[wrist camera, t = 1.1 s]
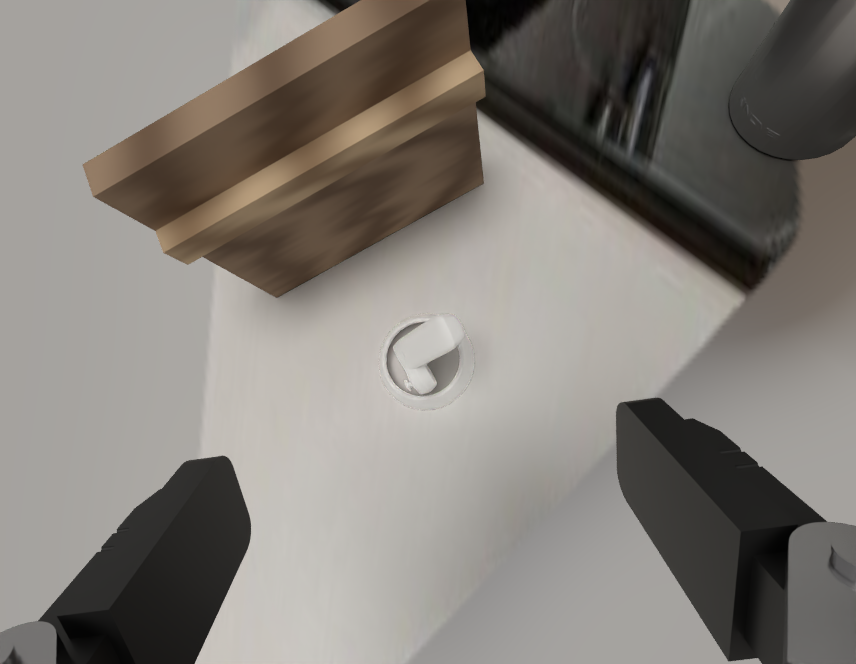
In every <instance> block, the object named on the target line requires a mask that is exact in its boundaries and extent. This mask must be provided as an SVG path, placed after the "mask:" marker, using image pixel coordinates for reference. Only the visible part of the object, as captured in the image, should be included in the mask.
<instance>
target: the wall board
mask: <svg viewBox="0 0 856 664" xmlns="http://www.w3.org/2000/svg"><path fill="white" fill-rule="evenodd" d="M484 97H485V83H484V70H483V69H482V67H481V66H480V64H479V63H478V61H477V60H476V58H475V57H474V55H473V53H472V52H471V50H470V42H469V32H468V22H467V12H466V2H465V0H361V1H359V2H357V3H356V4H354V5H352V6H350V7H349V8H347V9H345V10H344V11H342V12H340V13H339V14H337V15H335V16H334V17H332V18H330V19H328V20H327V21H325V22H323V23H322V24H320V25H318V26H317V27H315V28H313V29H312V30H310V31H308V32H306V33H305V34H303V35H301V36H300V37H298V38H296V39H295V40H293V41H291V42H289V43H288V44H286V45H284V46H283V47H281V48H279V49H278V50H276V51H274V52H273V53H271V54H269V55H267V56H266V57H264V58H262V59H261V60H259V61H257V62H256V63H254V64H252V65H250V66H249V67H247V68H245V69H244V70H242V71H240V72H239V73H237V74H235V75H234V76H232V77H230V78H228V79H227V80H225V81H223V82H222V83H220V84H218V85H217V86H215V87H213V88H212V89H210V90H208V91H206V92H205V93H203V94H201V95H200V96H198V97H196V98H195V99H193V100H191V101H189V102H188V103H186V104H185V105H183V106H181V107H179V108H178V109H176V110H174V111H173V112H171V113H169V114H167V115H166V116H164V117H162V118H161V119H159V120H157V121H156V122H154V123H152V124H150V125H149V126H147V127H146V128H144V129H142V130H140V131H139V132H137V133H135V134H134V135H132V136H130V137H128V138H127V139H125V140H124V141H122V142H120V143H118V144H117V145H115V146H113V147H111V148H110V149H108V150H106V151H105V152H103V153H101V154H100V155H98V156H97V157H95V158H93V159H91V160H89V161H88V162H86V163H84V164H83V167H84V170H85V173H86V176H87V179H88V182H89V185H90V188H91V191H92V194H93V197H95V198H97V199H99V200H100V201H102V202H104V203H106V204H108V205H109V206H111V207H113V208H115V209H117V210H119V211H120V212H122V213H124V214H126V215H127V216H129V217H131V218H133V219H135V220H137V221H138V222H140V223H142V224H144V225H146V226H147V227H149V228H151V229H153V230H155V231H156V234H157V237H158V239H159V242H160V245H161V247H162V250H163V253H165V254H167V255H169V256H171V257H173V258H175V259H177V260H179V261H181V262H183V263H185V264H187V265H188V264H190V263H192V262H194V261H195V260H197V259H199V258H201V257H204V258H206V259H208V260H209V261H211V262H213V263H215V264H216V265H218V266H220V267H222V268H224V269H226V270H227V271H229V272H231V273H233V274H235V275H236V276H238V277H240V278H242V279H244V280H245V281H247V282H249V283H251V284H253V285H255V286H256V287H258V288H260V289H262V290H264V291H265V292H267V293H269V294H271V295H273V296H275V297H276V298H277V297H279V296H281V295H283V294H284V293H286V292H288V291H290V290H292V289H293V288H295V287H297V286H299V285H301V284H302V283H304V282H306V281H308V280H310V279H311V278H313V277H315V276H317V275H319V274H320V273H322V272H324V271H326V270H328V269H329V268H331V267H333V266H335V265H337V264H339V263H340V262H342V261H344V260H346V259H348V258H349V257H351V256H353V255H355V254H357V253H358V252H360V251H362V250H364V249H366V248H367V247H369V246H371V245H373V244H375V243H376V242H378V241H380V240H382V239H384V238H385V237H387V236H389V235H391V234H393V233H395V232H396V231H398V230H400V229H402V228H404V227H405V226H407V225H409V224H411V223H413V222H414V221H416V220H418V219H420V218H422V217H423V216H425V215H427V214H429V213H431V212H432V211H434V210H436V209H438V208H440V207H441V206H443V205H445V204H447V203H449V202H450V201H452V200H454V199H456V198H458V197H460V196H461V195H463V194H465V193H467V192H469V191H470V190H472V189H474V188H476V187H478V186H479V185H481V184H483V183H484V181H483V171H482V161H481V151H480V141H479V131H478V121H477V111H476V101H478V100H480V99H482V98H484Z"/></svg>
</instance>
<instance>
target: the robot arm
mask: <svg viewBox="0 0 856 664" xmlns="http://www.w3.org/2000/svg"><path fill="white" fill-rule="evenodd" d="M729 109H730V116H731V119H732V122H733V125H734V126H735V128H736V129H737V131H738V132H739V134H740V135H741V136H742V137H743V138H744V139H745V140H746V141H747V142H748V143H749V144H750V145H752V146H753V147H755V148H756V149H758V150H760V151H762V152H764V153H767V154H769V155H771V156H775V157H779V158H784V159H794V160H804V159H812V158H818V157H821V156H824V155H827V154H830V153H832V152H834V151H836V150H838V149H840V148H842V147H843V146H844V145H845V144H847V143H848V142H849V141H850V140H852V139H853V138H854V137H855V136H856V0H790V2H789V3H788V5H787V6H786V8H785V9H784V11H783V12H782V14H781V15H780V17H779V18H778V20H777V21H776V23H775V24H774V26H773V27H772V29H771V30H770V32H769V33H768V35H767V36H766V38H765V39H764V40H763V42H762V43H761V45H760V46H759V48H758V49H757V51H756V52H755V54H754V55H753V57H752V58H751V60H750V61H749V63H748V64H747V66H746V67H745V69H744V70H743V72H742V73H741V75H740V76H739V78H738V79H737V81H736V83H735V85H734V87H733V89H732V91H731V95H730V101H729ZM616 438H617V474H618V479H619V483H620V487H621V490H622V492H623V495H624V497H625V499H626V501H627V503H628V504H629V506H630V507H631V509H632V510H633V512H634V514H635V515H636V517H637V518H638V520H639V521H640V523H641V524H642V526H643V528H644V529H645V531H646V532H647V534H648V535H649V537H650V539H651V540H652V542H653V543H654V545H655V546H656V548H657V549H658V551H659V553H660V554H661V556H662V557H663V559H664V561H665V562H666V564H667V565H668V567H669V568H670V570H671V572H672V573H673V575H674V576H675V578H676V579H677V581H678V583H679V584H680V586H681V587H682V589H683V590H684V592H685V593H686V595H687V597H688V598H689V600H690V601H691V603H692V605H693V606H694V608H695V609H696V611H697V612H698V614H699V616H700V617H701V619H702V620H703V622H704V623H705V625H706V626H707V628H708V630H709V631H710V633H711V634H712V636H713V638H714V639H715V641H716V642H717V644H718V645H719V647H720V649H721V650H722V652H723V653H724V655H725V656H726V658H727V659H728V661H736V660H744V659H752V658H759V660H760V661H761V663H762V664H856V526H853V525H848V524H843V523H835V522H827V521H826V520H824V519H823V518H822V517H821V516H819V514H817V513H816V512H815V511H814V510H813V509H812V508H810V507H809V506H808V505H807V504H806V503H804V502H803V501H802V500H801V499H800V498H799V497H797V496H796V495H795V494H794V493H793V492H792V491H790V490H789V489H788V488H787V487H786V486H784V485H783V484H782V483H781V482H780V481H778V480H777V479H776V478H775V477H774V476H773V475H772V474H770V473H769V472H768V471H767V470H765V469H764V468H763V467H759V466H758V463H757V462H756V461H755V460H754V459H752V458H751V457H750V456H749V455H748V454H747V453H745V452H741V450H740V447H738V446H737V445H736V444H735V443H734V442H732V441H731V440H730V439H729V438H728V437H727V436H725V435H724V434H723V433H722V432H721V431H719V430H717V429H715V428H712V427H710V426H708V425H706V424H704V423H701V422H699V421H697V420H695V419H686V420H684V419H683V418H682V417H681V416H680V415H679V414H678V413H676V412H675V411H674V410H673V409H672V408H671V407H670V406H669V405H668V404H666V403H665V401H663V400H662V399H661V398H651V399H643V400H636V401H629V402H621V403H619V404H618V406H617V411H616ZM250 536H251V522H250V517H249V513H248V510H247V507H246V504H245V501H244V498H243V495H242V492H241V489H240V486H239V483H238V480H237V477H236V474H235V471H234V468H233V465H232V463H231V461H230V460H229V458H227V457H226V456H218V457H211V458H204V459H196V460H189V461H186V462H184V463H183V464H182V465H181V466H180V468H179V469H178V470H177V471H176V472H175V474H174V475H173V476H172V477H171V478H170V480H169V481H168V482H167V483H166V485H165V486H164V487H163V488H162V489H160V490H158V491H157V492H156V493H154V494H153V495H152V496H151V497H149V498H148V499H147V500H145V501H144V502H143V503H142V504H140V505H139V506H137V507H136V508H135V509H134V510H133V511H132V512H131V513H130V515H129V516H128V517H127V518H126V519H125V520H124V522H123V523H122V524H121V525H120V526H119V527H118V529H117V533H114V534H112V536H111V537H110V538H109V539H108V540H107V541H106V543H105V544H104V545H103V546H102V550H101V552H97V553H96V554H95V556H94V557H93V558H92V559H91V560H90V561H89V562H88V564H87V565H86V566H85V567H84V568H83V569H82V570H81V572H80V573H79V574H78V575H77V576H76V578H75V579H74V580H73V581H72V582H71V583H70V585H69V586H68V587H67V588H66V589H65V590H64V592H63V593H62V594H61V595H60V596H59V597H58V598H57V600H56V601H55V602H54V603H53V604H52V605H51V607H50V608H49V609H48V610H47V611H46V612H45V614H44V615H43V616H42V617H41V618H40V620H39V621H36V622H29V623H25V624H21V625H18V626H15V627H12V628H10V629H7V630H5V631H3V632H1V633H0V664H195V661H196V659H197V657H198V655H199V653H200V651H201V648H202V646H203V644H204V642H205V640H206V638H207V635H208V633H209V631H210V629H211V627H212V625H213V622H214V620H215V618H216V616H217V614H218V612H219V609H220V607H221V605H222V603H223V601H224V599H225V597H226V594H227V592H228V590H229V588H230V586H231V584H232V581H233V579H234V577H235V575H236V573H237V571H238V568H239V566H240V564H241V562H242V560H243V558H244V555H245V553H246V551H247V549H248V546H249V542H250Z"/></svg>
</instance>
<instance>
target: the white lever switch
mask: <svg viewBox="0 0 856 664" xmlns="http://www.w3.org/2000/svg"><path fill="white" fill-rule="evenodd" d="M418 322H424V323H423V324H421V325H420V326H418V327H417V328H415V329H414V330H413V331H411V332H410V333H408V334H407V335H405V336H404V337H402V338H401V339H399V340H398V341H397V342H396V344H395V345H394V346H393V350H394V353H395V355H396V357H397V359H398V360H399V362H400V364H401V365H402V367H403V369H404V370H405V372H406V374H407V376H408V379H409V381H407V380H404V384H405V386H406V387H407V389H408V390H409V391H411V390H412V386H413V387H414V388H415V390H417V391H418V392H419V393H420V394H425V393H428V392H431V391H432V390H433V389H434V388H435V387H436V385H437V382H436V379H435V377H434V376H433V374H432V372H431V370H430V369H429V367H428V365H427V363H429V362H430V361H432V360H434V359H436V358H438V357H440V356H442V355H444V354H446V353H448V352H450V351H451V350H453V349H454V348H456V347H457V346H458V350H459V357H460V361H459V367H458V370H457V373H456V375H455V377H454V378H453V380H452V381H451V382H450V384H449V385H448V386H447V387H445V388H444V389H443V390H441V391H439V392H437V393H435V394H432V395H428V396H417V395H412V394H409V393H407V392H405V391H403V390H402V389H400V388H399V387H398V386H397V385H396V384H395V383H394V382H393V380H392V379H391V377H390V375H389V372H388V369H387V352H388V349H389V346H390V344H391V342H392V340H393V339H394V337H395V336H396V335H397V334H398V333H399V332H400V331H401V330H403V329H404V328H405V327H407V326H409V325H411V324H415V323H418ZM474 365H475V359H474V351H473V347H472V343H471V341H470V339H469V337H468V335H467V334H466V333H465V331H464V328H463V325H462V323H461V321H460V320H459V319H458V317H457V316H455V315H453V314H440V315H438V314H429V313H428V314H418V315H415V316H411V317H409V318H407V319H405V320H403V321H401V322H400V323H398V324H397V325H396V326H394V328H393V329H392V330H391V331H390V332H389V333H388V335H387V336H386V338H385V340H384V341H383V344H382V346H381V349H380V354H379V372H380V377H381V380H382V382H383V384H384V386H385V388H386V389H387V391H388V392H389V394H390V395H391V396H392V397H393V398H394V399H395V400H396V401H398V402H400V403H401V404H403V405H404V406H407V407H409V408H412V409H417V410H435V409H439V408H442V407H444V406H446V405H448V404H451V403H452V402H453V401H455V400H456V399H457V398H459V396H460V395H461V394H462V393H463V392H464V391H465V390H466V388H467V386H468V385H469V383H470V381H471V378H472V375H473V372H474Z"/></svg>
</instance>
